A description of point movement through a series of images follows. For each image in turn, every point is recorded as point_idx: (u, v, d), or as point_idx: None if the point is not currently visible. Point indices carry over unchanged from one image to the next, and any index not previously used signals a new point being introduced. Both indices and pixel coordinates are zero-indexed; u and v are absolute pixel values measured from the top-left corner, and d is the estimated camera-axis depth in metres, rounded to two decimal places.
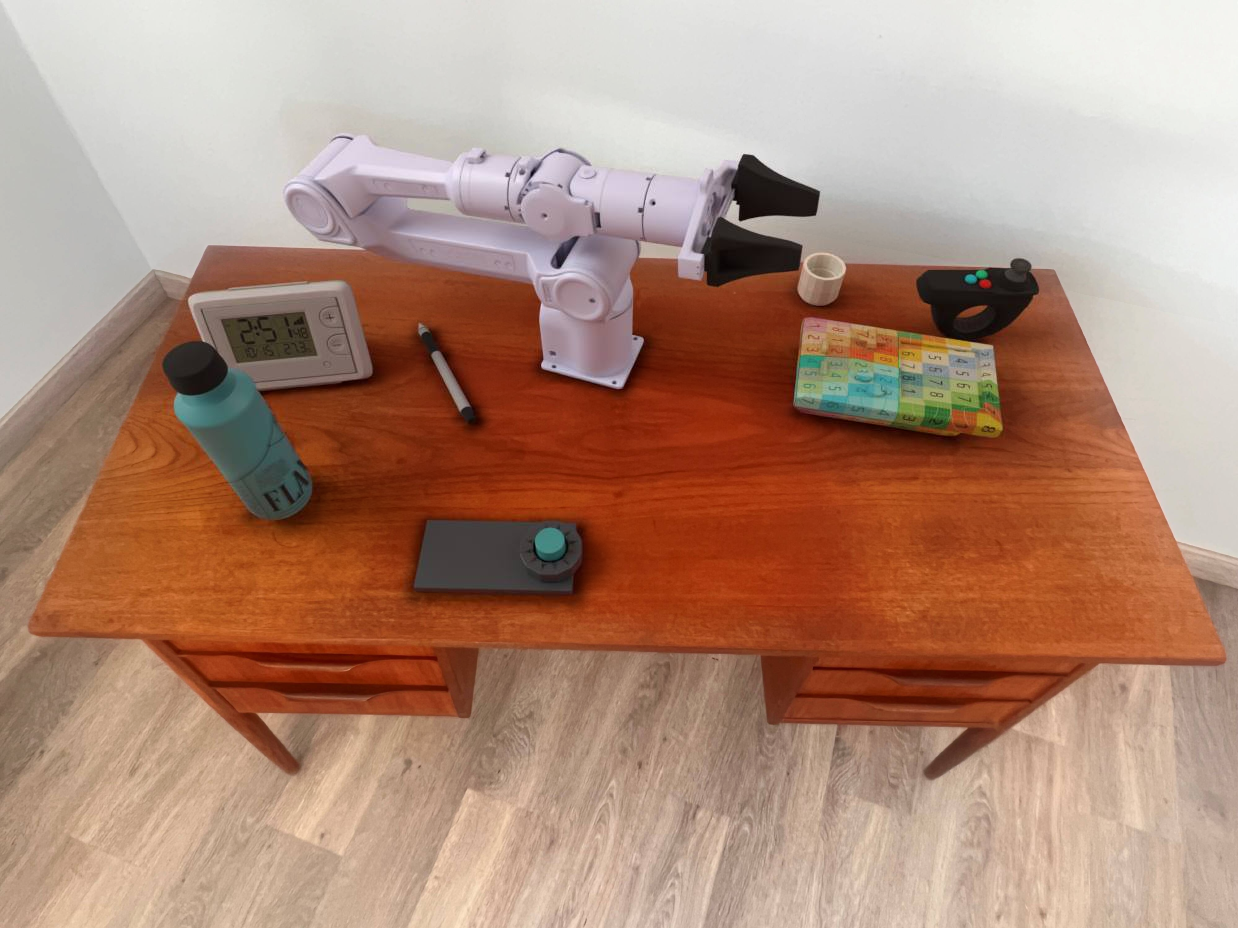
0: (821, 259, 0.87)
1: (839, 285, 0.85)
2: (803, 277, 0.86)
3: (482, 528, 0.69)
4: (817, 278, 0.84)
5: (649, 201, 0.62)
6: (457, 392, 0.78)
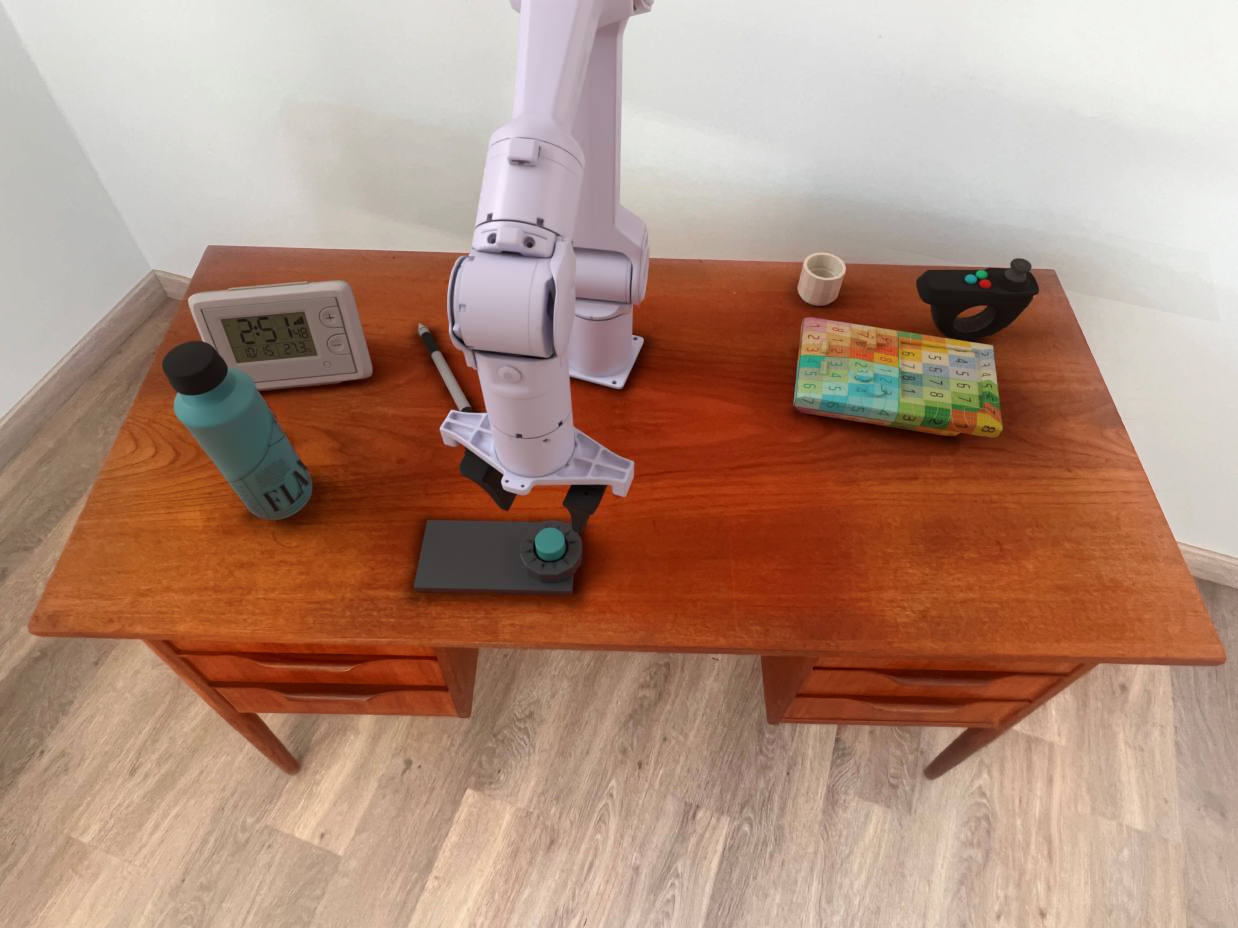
0: (821, 259, 0.87)
1: (839, 285, 0.85)
2: (803, 277, 0.86)
3: (482, 528, 0.69)
4: (817, 278, 0.84)
5: (491, 423, 0.49)
6: (457, 392, 0.78)
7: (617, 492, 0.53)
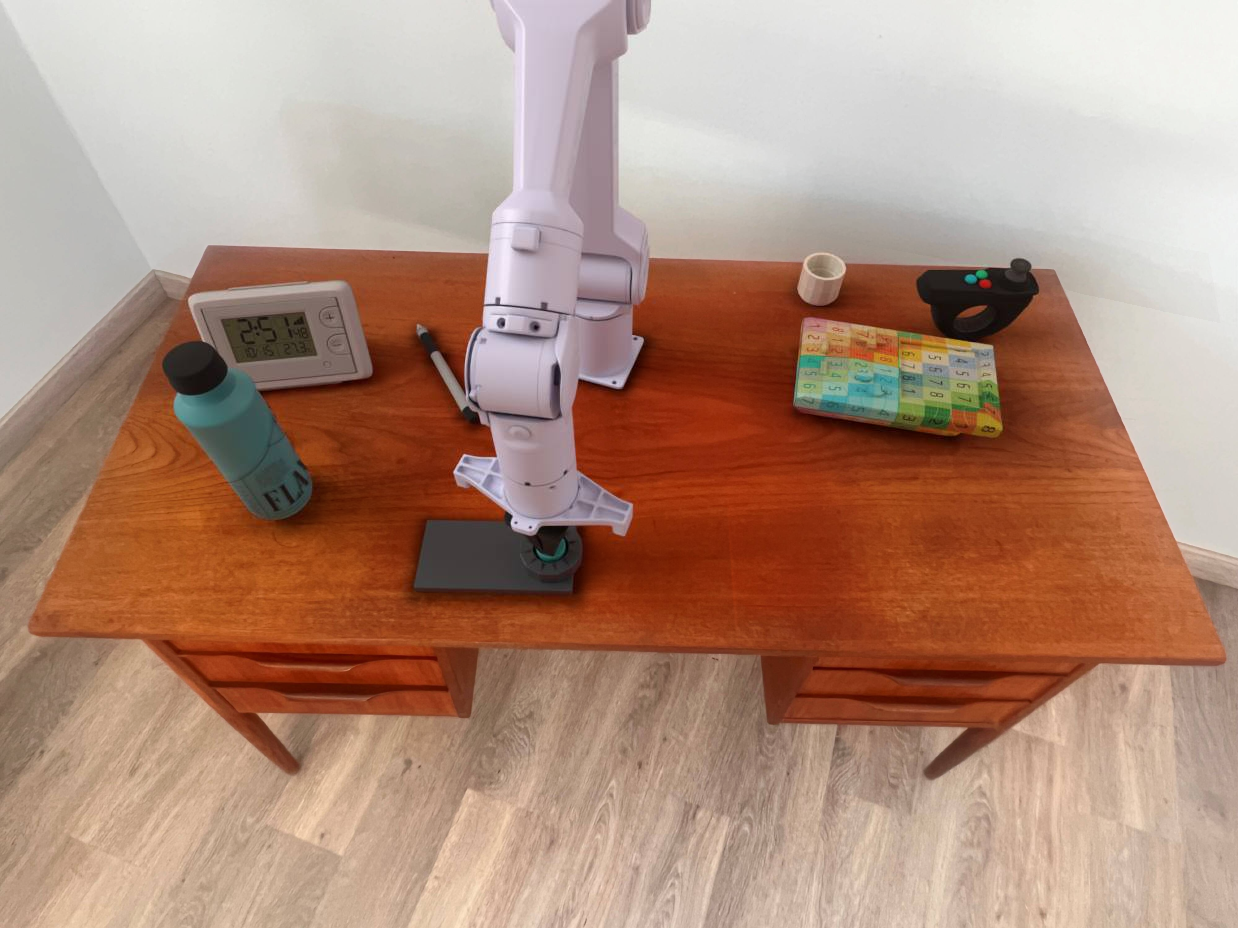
0: (821, 259, 0.87)
1: (839, 285, 0.85)
2: (803, 277, 0.86)
3: (482, 528, 0.69)
4: (817, 278, 0.84)
5: (501, 471, 0.54)
6: (458, 392, 0.78)
7: (617, 532, 0.57)
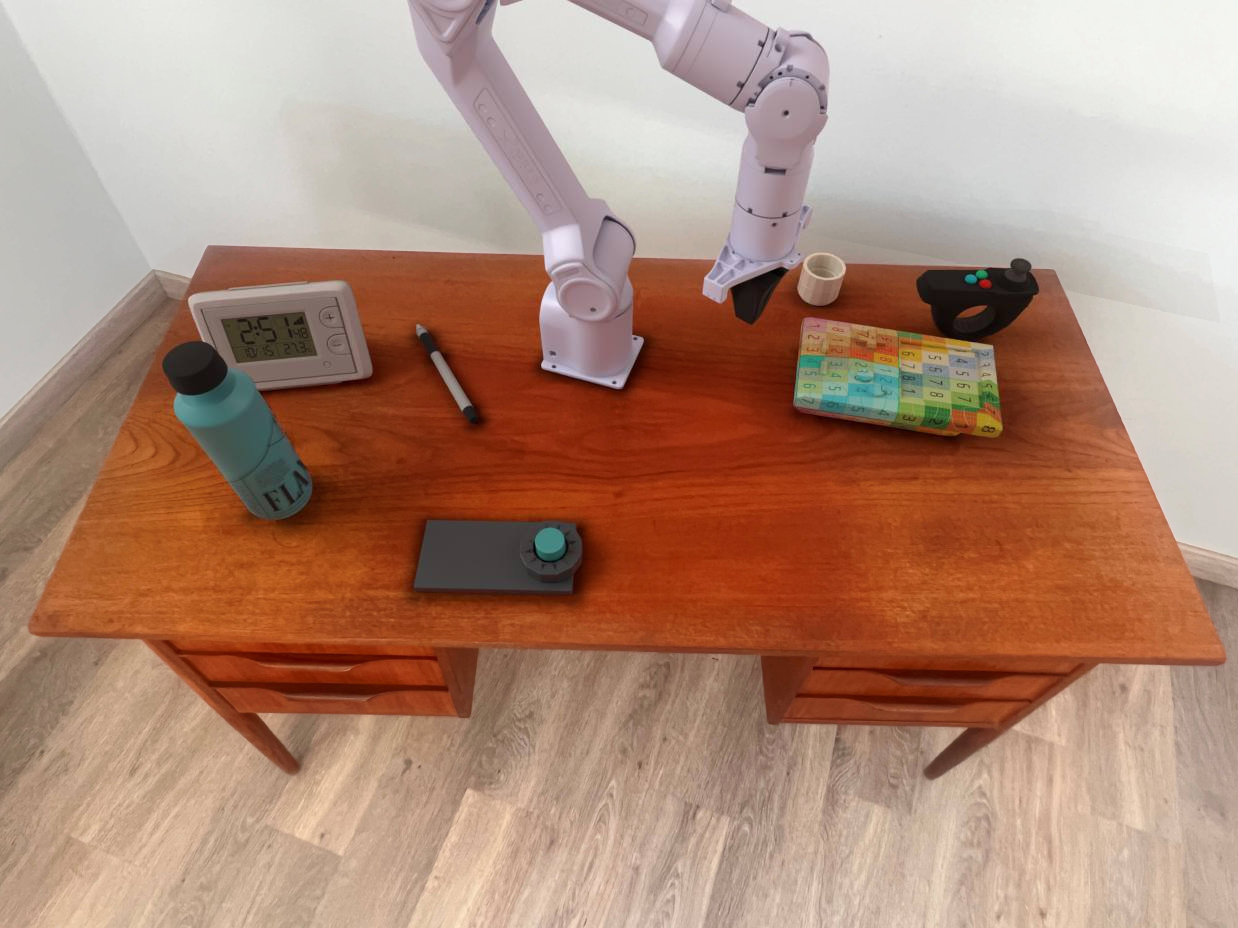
0: (821, 259, 0.87)
1: (839, 285, 0.85)
2: (803, 277, 0.86)
3: (482, 528, 0.69)
4: (817, 278, 0.84)
5: (776, 222, 0.61)
6: (458, 392, 0.78)
7: (807, 224, 0.70)
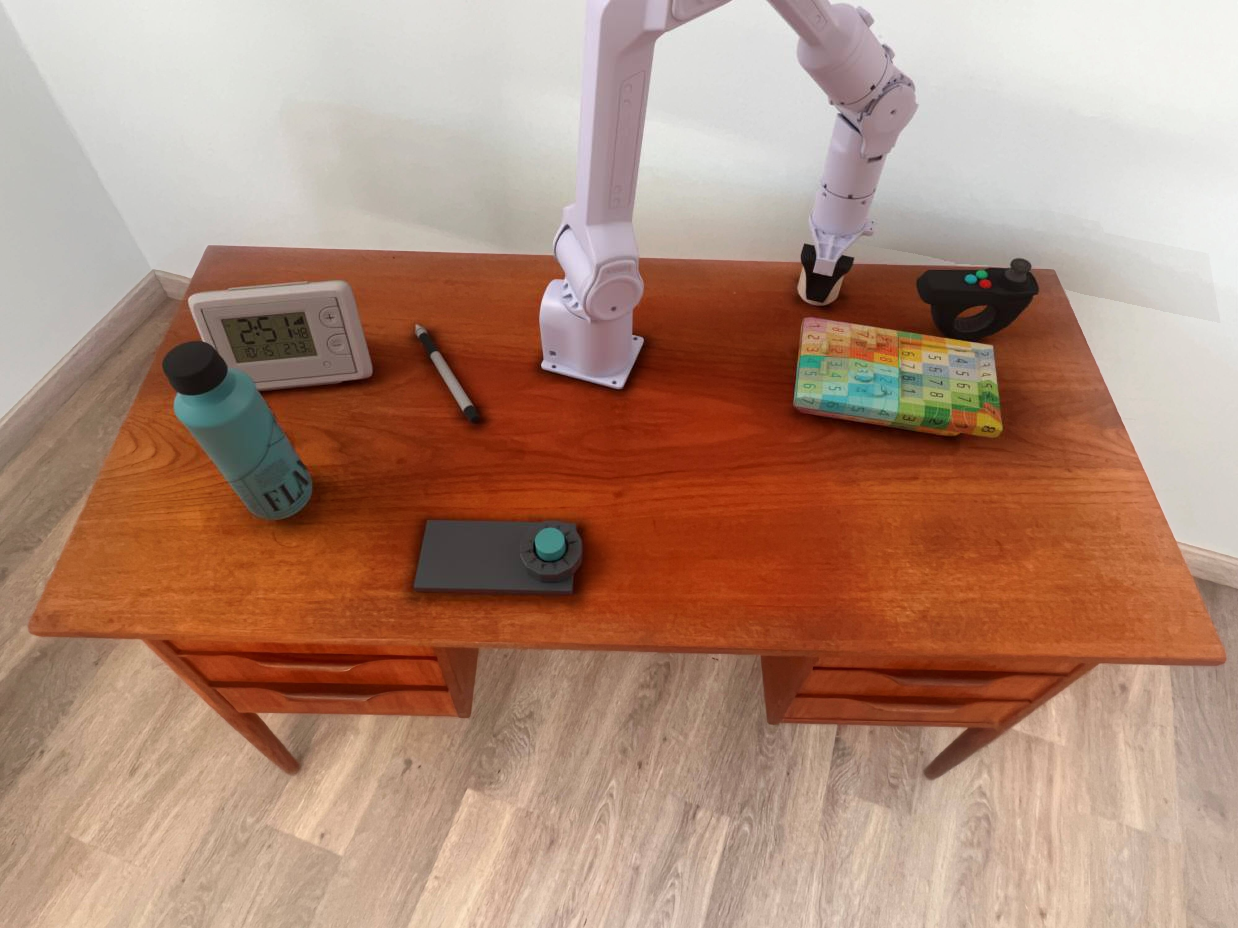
0: None
1: (839, 285, 0.85)
2: (803, 277, 0.86)
3: (482, 528, 0.69)
4: None
5: (864, 200, 0.75)
6: (459, 391, 0.78)
7: None
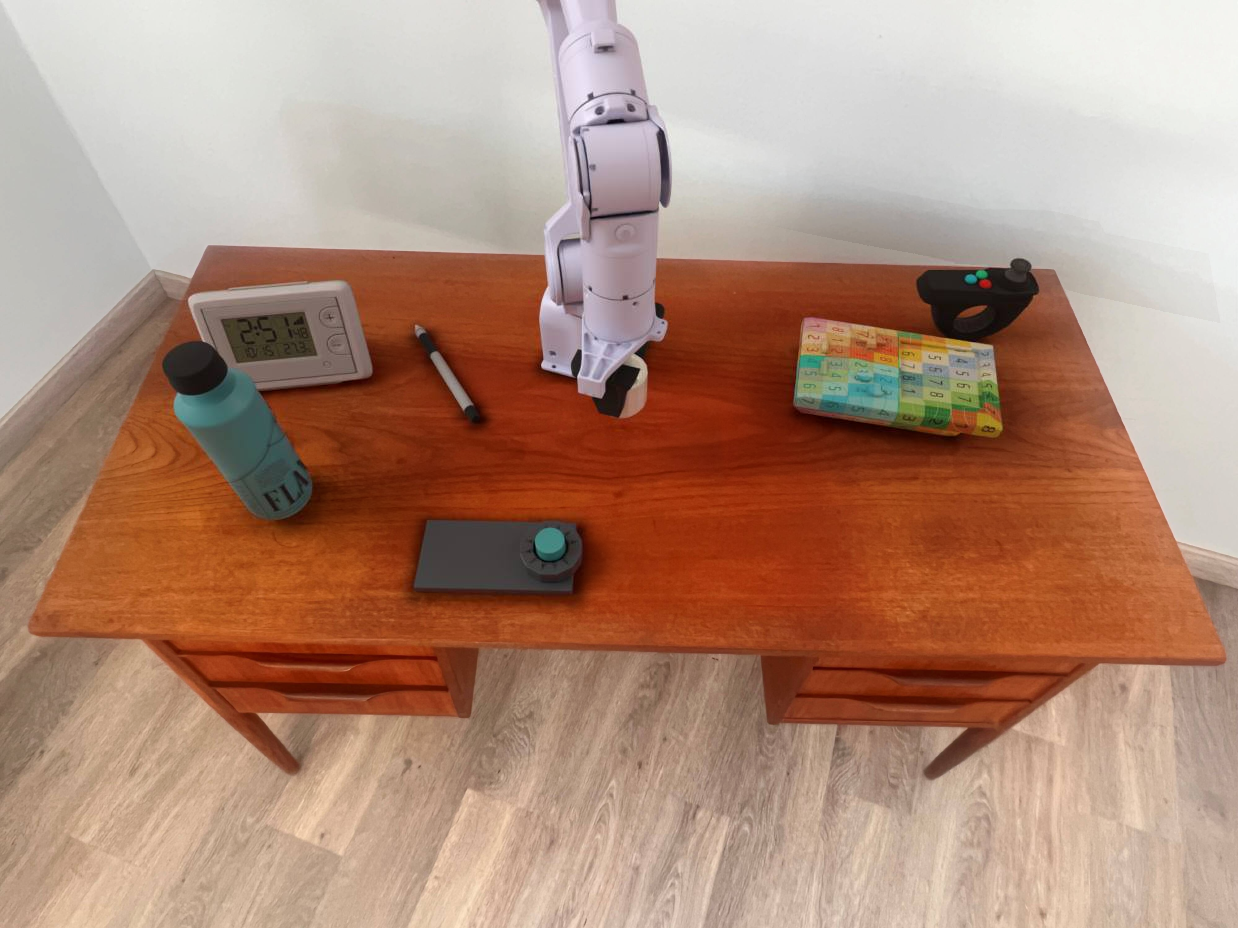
0: None
1: (640, 394, 0.66)
2: None
3: (482, 528, 0.69)
4: None
5: (636, 301, 0.56)
6: (459, 391, 0.78)
7: None
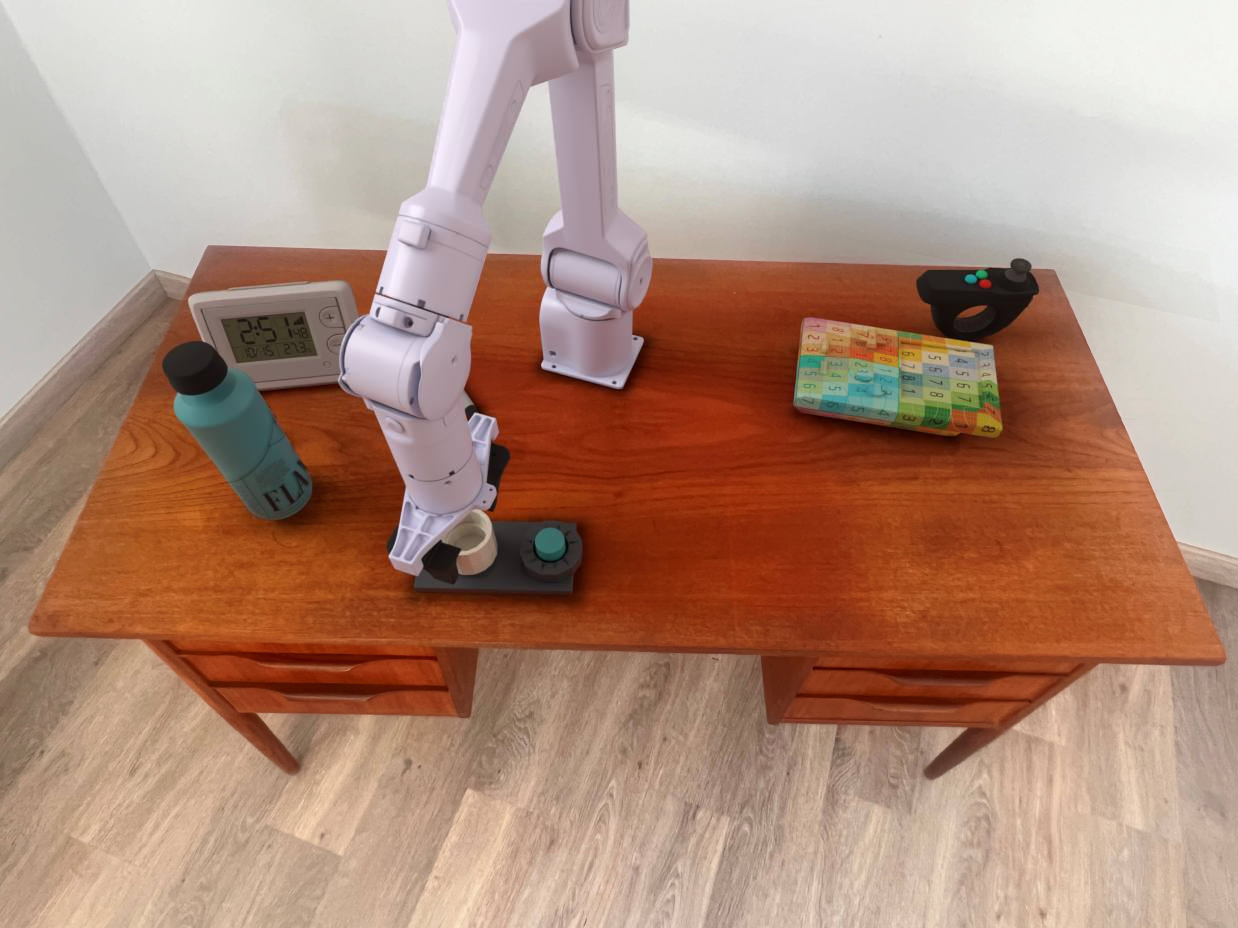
0: (469, 514, 0.65)
1: (485, 555, 0.64)
2: None
3: None
4: None
5: (448, 480, 0.53)
6: None
7: (495, 434, 0.62)
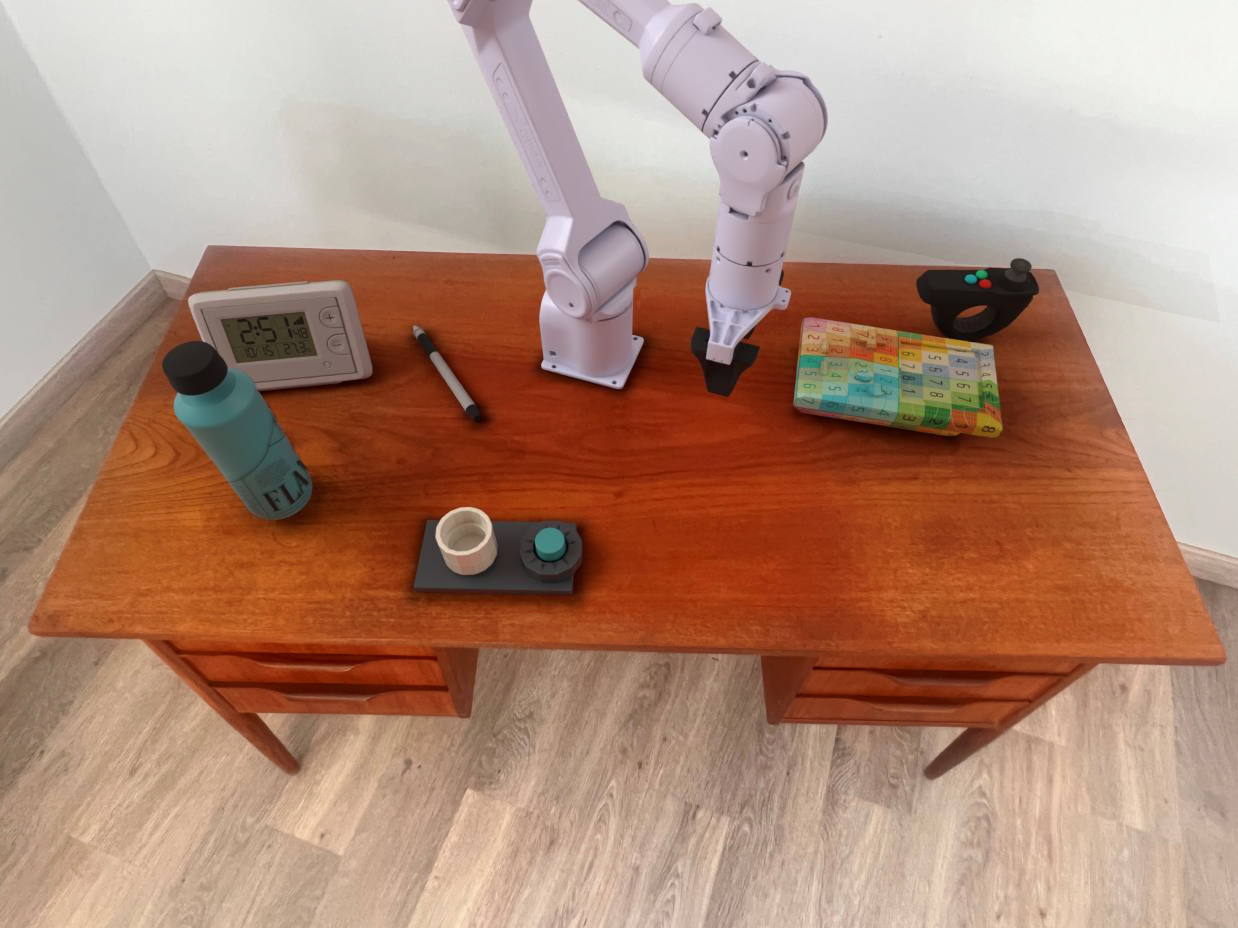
0: (469, 514, 0.65)
1: (485, 555, 0.64)
2: None
3: None
4: (447, 552, 0.62)
5: (769, 267, 0.57)
6: (460, 391, 0.78)
7: None
